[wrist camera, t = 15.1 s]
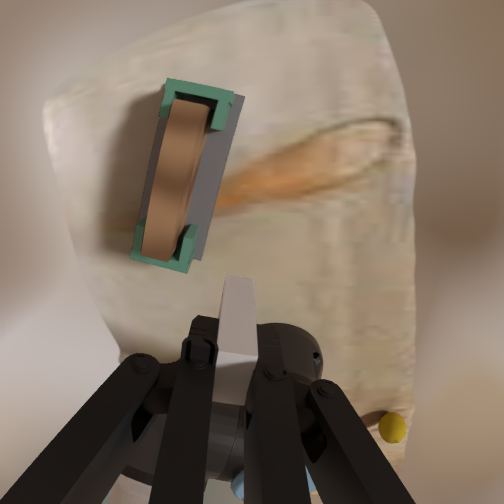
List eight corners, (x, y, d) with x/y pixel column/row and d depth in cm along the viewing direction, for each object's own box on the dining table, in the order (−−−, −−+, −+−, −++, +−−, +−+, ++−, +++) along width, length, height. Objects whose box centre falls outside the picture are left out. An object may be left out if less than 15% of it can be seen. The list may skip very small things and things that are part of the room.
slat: (182, 236, 40) (167, 262, 32) (159, 230, 39) (140, 255, 32) (214, 109, 34) (204, 105, 27) (189, 104, 34) (173, 98, 26)
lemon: (391, 401, 54) (404, 430, 47) (402, 410, 56) (415, 438, 48) (369, 416, 55) (379, 446, 48) (381, 424, 57) (392, 452, 50)
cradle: (202, 257, 42) (194, 278, 36) (137, 240, 41) (121, 258, 35) (244, 97, 35) (244, 91, 29) (172, 81, 34) (158, 73, 28)
